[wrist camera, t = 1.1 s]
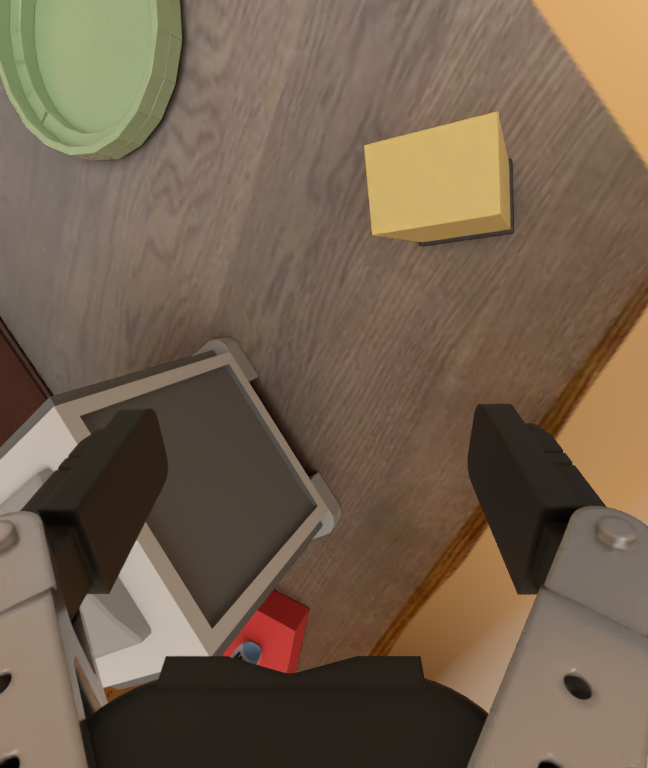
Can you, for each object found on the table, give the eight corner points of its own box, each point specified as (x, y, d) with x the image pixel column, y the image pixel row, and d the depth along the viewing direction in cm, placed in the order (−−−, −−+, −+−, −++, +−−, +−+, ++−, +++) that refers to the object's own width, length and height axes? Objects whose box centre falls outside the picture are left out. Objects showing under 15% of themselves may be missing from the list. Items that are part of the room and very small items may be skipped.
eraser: (418, 181, 28) (359, 140, 18) (512, 161, 26) (502, 103, 16) (422, 246, 29) (368, 240, 19) (514, 233, 27) (505, 219, 17)
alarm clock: (143, 401, 43) (-87, 487, 27) (230, 330, 37) (-4, 386, 21) (243, 562, 43) (72, 743, 27) (347, 518, 37) (204, 721, 21)
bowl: (62, -149, 32) (21, -185, 30) (225, -20, 30) (196, -48, 27) (8, 87, 40) (-29, 75, 37) (133, 204, 38) (103, 200, 35)
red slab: (296, 669, 44) (262, 729, 38) (239, 636, 46) (199, 688, 40) (309, 608, 41) (274, 663, 35) (247, 576, 43) (206, 623, 38)
